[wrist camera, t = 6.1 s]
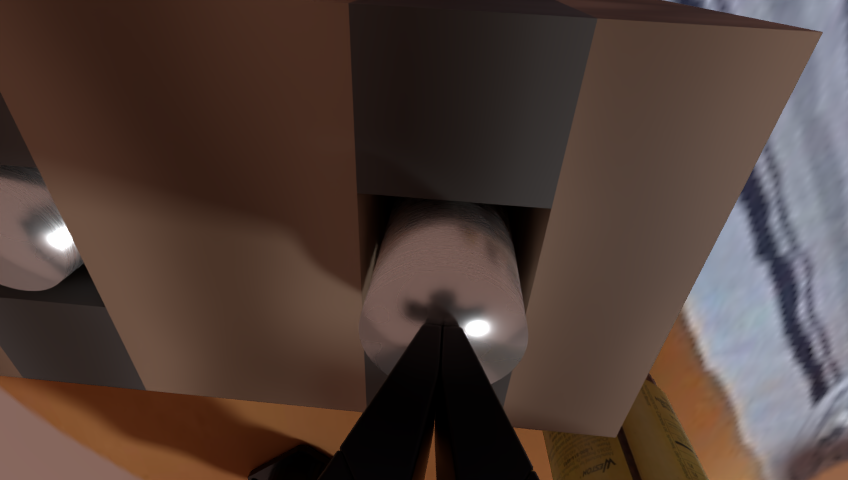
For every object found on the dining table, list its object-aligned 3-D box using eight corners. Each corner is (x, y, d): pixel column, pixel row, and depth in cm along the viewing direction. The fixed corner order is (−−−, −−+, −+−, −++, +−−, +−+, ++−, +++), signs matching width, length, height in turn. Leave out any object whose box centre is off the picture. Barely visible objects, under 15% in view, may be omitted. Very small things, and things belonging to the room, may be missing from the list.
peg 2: (510, 145, 14) (544, 279, 8) (495, 237, 16) (513, 399, 10) (400, 137, 14) (355, 263, 8) (399, 229, 16) (361, 384, 10)
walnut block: (663, 0, 13) (822, 32, 7) (571, 296, 20) (615, 437, 14) (-75, -43, 14) (-456, -46, 8) (72, 252, 21) (-81, 367, 15)
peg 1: (187, 102, 16) (28, 182, 10) (209, 187, 18) (86, 296, 12) (95, 95, 16) (-113, 171, 10) (126, 181, 18) (-33, 285, 12)
